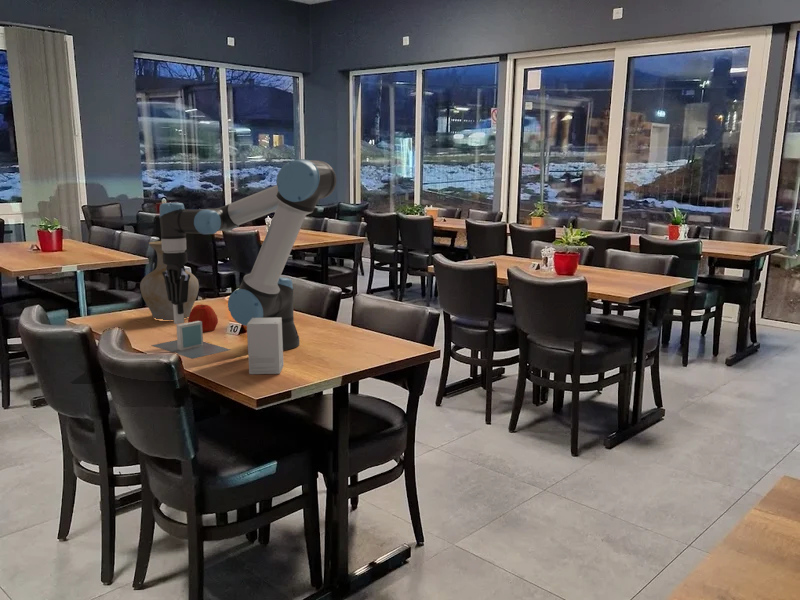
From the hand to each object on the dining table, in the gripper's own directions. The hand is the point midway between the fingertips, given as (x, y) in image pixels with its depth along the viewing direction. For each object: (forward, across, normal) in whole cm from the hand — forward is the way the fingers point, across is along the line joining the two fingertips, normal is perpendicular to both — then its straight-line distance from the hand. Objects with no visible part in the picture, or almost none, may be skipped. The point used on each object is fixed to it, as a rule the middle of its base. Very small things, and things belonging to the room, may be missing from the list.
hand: (179, 323), depth 217 cm
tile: (+7, -6, 0) cm, 9 cm away
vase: (+8, +44, -23) cm, 50 cm away
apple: (+9, +13, -17) cm, 23 cm away
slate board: (+8, -6, 0) cm, 10 cm away
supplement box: (+9, -41, -3) cm, 42 cm away
